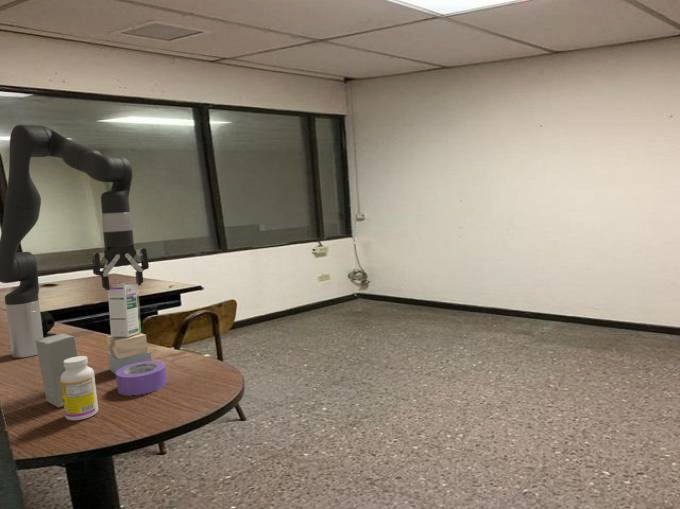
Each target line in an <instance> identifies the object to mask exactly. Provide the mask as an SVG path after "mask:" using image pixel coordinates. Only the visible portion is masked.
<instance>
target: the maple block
mask: <svg viewBox="0 0 680 509" xmlns="http://www.w3.org/2000/svg"><path fill="white" fill-rule="evenodd" d="M106 342H107V350H108V351H107V355H108V354H110V355H111V356H113V357H115V358H117V359H122V358H126V357H130V356H135V355H139V354H143V353H147V352H148V351H149V349H148V340H147V334H144V333H142V332H141V333H139V334H136V335H132V336H129V337H113V336H111V335H109V336H106Z"/></svg>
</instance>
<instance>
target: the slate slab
mask: <svg viewBox="0 0 680 509" xmlns="http://www.w3.org/2000/svg"><path fill="white" fill-rule="evenodd" d="M151 355H152V354H151V352H150V351H149V350H148V352H147V353H143V354H139V355H135V356H130V357H126V358H122V359H117V358H115V357H113V356H111V355H110V354H108V353H107V358H108V367H109V368H108V369H109V371H110V372H112V373H113V374H114V375H116V372H117V370H119V369H120V368H122V367H124V366H127V365H130V364H134V363H139V362H145V361H152V356H151Z"/></svg>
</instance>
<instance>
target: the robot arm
mask: <svg viewBox="0 0 680 509" xmlns="http://www.w3.org/2000/svg"><path fill="white" fill-rule="evenodd" d="M8 155H9V160H8V161H9V165H8V179H7V180H8V181H7V186H6V187H7V188H6V193H5V194H6V196H5V200H4V206H3V207H4V208H3V220H2V226H1V233H0V283H2V284H11V283H16V282H19V285H18V286H17V287H16V288H15V289H14V290H12V291H11V292H9V293H7V294H6V295H5V296H4V304H5V310H6V312H5V313H6V317H7V318H6V319H7V326H8V333H9V334H8V335H9V342H10V350H11V357H12V358H15V359H16V358H17V359H19V358H28V357H29V358H30V357H33V356H38V352H37V347H36V341H35V340H37V339H41V338H43V331H42V323H41V314H40V313H41V309H40V300H39V299H40V298H39V293H40V284H39V270H38V269H39V268H38V262H37V258H36V257H35V255H34V254H33V253H32V252H30V251H21V252H17V251H18V248H19V246H20V244H21V242H22V241H23V239H24V238H26V236H27V235H28V234H29V233H30V231H32V229H33V228H34V227H35V226H36V225H37V222H38V220H39V218H40V217H39V216H40V211H41V205H42V198H41V195H40V193H39V190H38V188H37V186H36V185H35V183H34V181H33V179H32V177H31V174H30V164H31V159H32V158H45V157H52V158H60V159H62V161H63V162H64V163H65V164H66V165H68V166H69V167H70V168H71V169H73V170H77V171H79V172H82V173H85V174H87V176H89V177H90V178H92V179H93V180H95V181H98V182H102V183H112V184H111V189H110V190H108V191H104V192H102V193H101V195H100V204H101V206H100V207H101V216H102V217H101V218H102V220H101V222H102V223H101V226H102V227H101V228H102V235H103V236H102V237H103V242H104V243H103V246H104V251H103V252H93V253H92V273H93V275H94V276H99V277H100V278H101V285H102V288H103V289H104V290H105V291H108V290H110V286H109V285H110V279H109V278H110V277H109V276H108V275H109V274H110V272H111V270H112V269H113V268H114V267H115V268H118V267H121V266H124V267H126V266H129V265H130V267H132V268H133V269H134V270H135V272H134V273H135V279H136V280H135V281H136V282H135V283H138V287H139V286H142V283H143V284H144V276H143V273H144V271H145V270H148V269H149V268H150V264H149V260H148V259H149V258H148V252H147V251H148V250H147V249H146V248H144V247H140V248H138V249H136V248H135V240H134V233H133V232H134V231H133V230H134V229H133V226H134V225H133V222H132V220H133V219H132V217H131V211H130V210H131V209H130V201H129V200H130V199H129V197H130V192H131V185H132V181H133V174H134V173H133V167H132V164H131V162H130V161H129V159H127V158H125V157H124V156H114V155H103V154H102V153H101V152H100V151H98V150H97V149H94V148H92V147H90V146H89V147H88V146H86V145H84V144H80V143H78V142H74V141H73V140H70V139H68V138H67V137H65V136H63V135H62V134H60V133H58V132H57V131H55V130H54V129H53V128H50V127H47V126H45V125H39V124H38V125H37V124H16V125H15V126H14V127H13V128H12V130H11V133H10V137H9V154H8ZM136 255H138V257H140V264H141V265H139V263H138V262H137V261H136V260H135V259H134V258H135V257H136ZM103 258H104V259H105V260H106V263H105V264H104V267H103V269H102V270H101V261H102V260H103Z"/></svg>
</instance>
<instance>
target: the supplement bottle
mask: <svg viewBox="0 0 680 509" xmlns="http://www.w3.org/2000/svg"><path fill="white" fill-rule="evenodd" d="M88 362H89V360H88V357H87V356H86V355H78V356H77V357H72V358H68V359H66V360H64V367H65V368H66V371H65V372H63V373H62V375H61V377H60V379H61V387H62V396H63V404H64V406H63V409H64V416H65V419H66V420H68V421H81V420H86V419H88V418H91V417H92V416H95V415H96V414H97V413H98V412H99V404H98V396H97V387H96V378H95V371H94V369H93V368H92V367H90V366H88Z"/></svg>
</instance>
